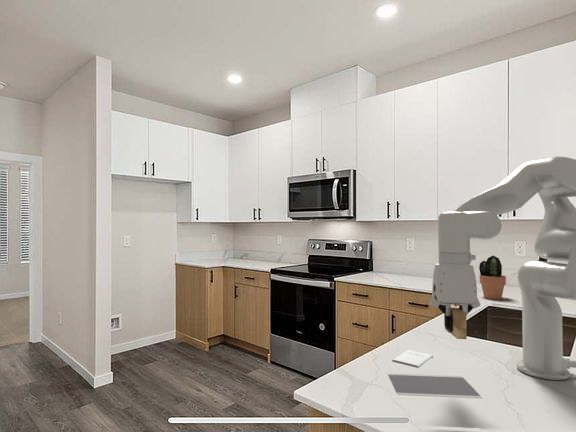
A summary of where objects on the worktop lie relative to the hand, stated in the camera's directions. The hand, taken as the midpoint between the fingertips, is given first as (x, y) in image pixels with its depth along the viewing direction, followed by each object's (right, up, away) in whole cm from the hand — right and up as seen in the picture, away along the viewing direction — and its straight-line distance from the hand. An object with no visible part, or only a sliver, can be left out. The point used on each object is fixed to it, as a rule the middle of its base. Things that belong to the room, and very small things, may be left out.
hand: (455, 329), depth 96 cm
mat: (-6, -15, 0) cm, 16 cm away
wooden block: (0, -1, 0) cm, 1 cm away
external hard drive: (-4, -16, +19) cm, 25 cm away
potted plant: (+76, -19, +120) cm, 143 cm away
